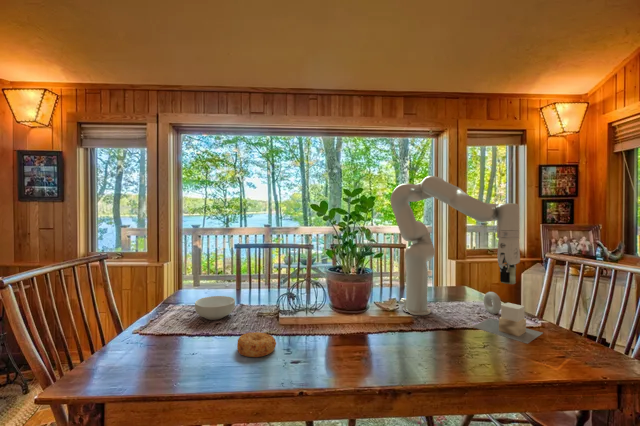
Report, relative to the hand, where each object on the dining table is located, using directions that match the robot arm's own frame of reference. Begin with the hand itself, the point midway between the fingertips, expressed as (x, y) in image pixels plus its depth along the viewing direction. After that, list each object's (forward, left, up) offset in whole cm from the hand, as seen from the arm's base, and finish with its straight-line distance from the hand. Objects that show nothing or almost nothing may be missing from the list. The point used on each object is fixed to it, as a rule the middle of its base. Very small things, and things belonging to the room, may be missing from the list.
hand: (508, 280), depth 126 cm
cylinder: (0, 0, -1) cm, 1 cm away
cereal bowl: (-85, -85, -20) cm, 122 cm away
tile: (0, 0, -20) cm, 20 cm away
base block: (+2, 0, -20) cm, 20 cm away
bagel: (-45, -86, -21) cm, 99 cm away
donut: (-13, +17, -20) cm, 29 cm away
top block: (+2, 0, -15) cm, 15 cm away
